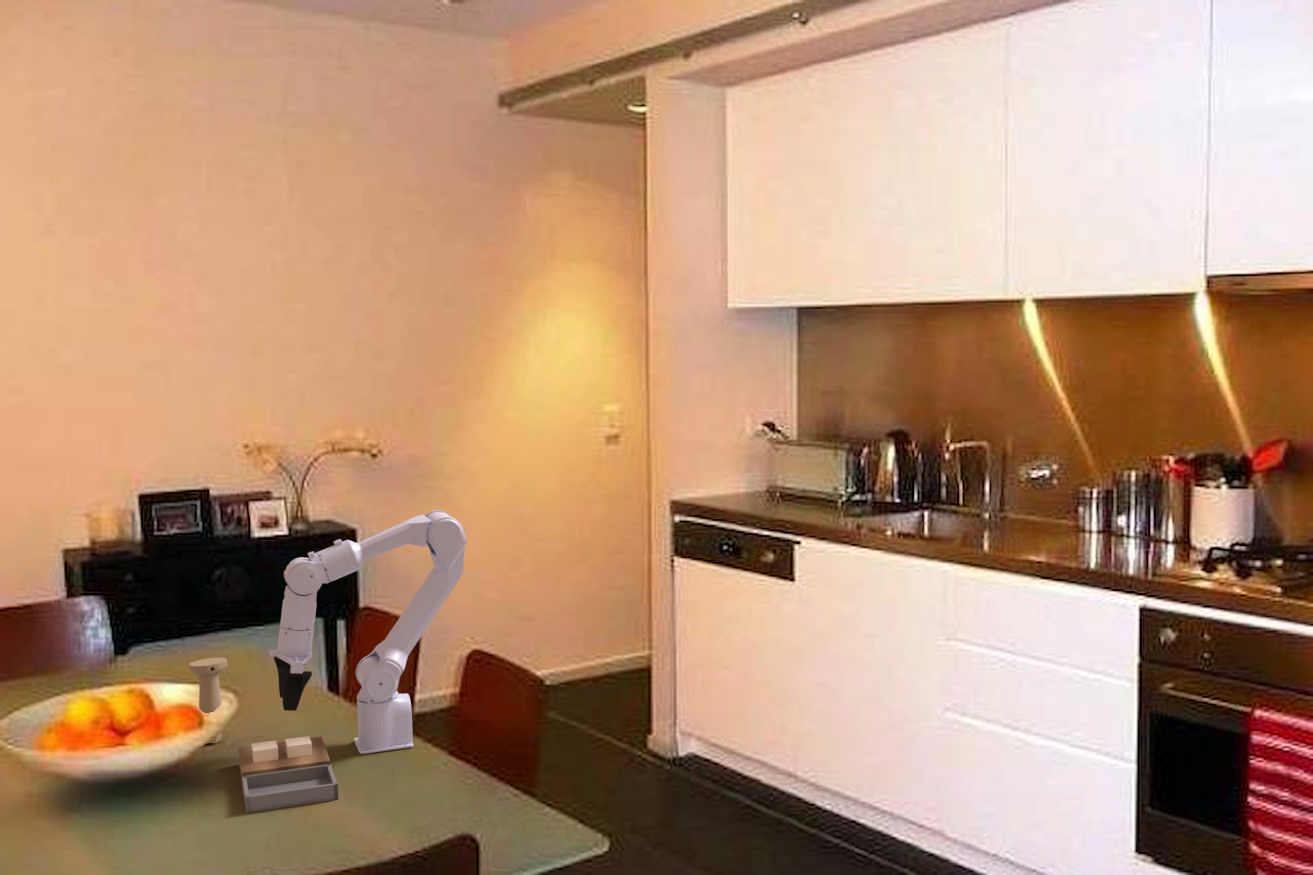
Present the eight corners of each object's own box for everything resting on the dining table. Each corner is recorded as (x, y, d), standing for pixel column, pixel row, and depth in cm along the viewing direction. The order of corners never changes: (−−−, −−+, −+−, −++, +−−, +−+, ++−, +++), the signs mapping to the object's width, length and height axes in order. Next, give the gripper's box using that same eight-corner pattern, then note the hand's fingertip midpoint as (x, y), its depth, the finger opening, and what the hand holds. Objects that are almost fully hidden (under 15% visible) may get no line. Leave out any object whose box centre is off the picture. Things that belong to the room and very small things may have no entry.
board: (322, 752, 217) (321, 736, 217) (330, 777, 205) (330, 760, 205) (238, 764, 212) (238, 747, 212) (242, 790, 200) (241, 772, 200)
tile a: (309, 747, 211) (309, 735, 211) (312, 754, 208) (311, 743, 208) (285, 750, 210) (285, 739, 210) (287, 758, 206) (287, 746, 206)
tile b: (276, 751, 209) (276, 740, 209) (278, 759, 206) (277, 747, 206) (252, 754, 208) (251, 743, 208) (253, 762, 204) (252, 751, 204)
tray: (331, 778, 205) (330, 763, 205) (338, 799, 196) (337, 784, 196) (242, 790, 200) (242, 776, 200) (246, 812, 191) (245, 797, 191)
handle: (234, 741, 224) (230, 661, 222) (198, 749, 220) (194, 667, 218) (225, 734, 228) (221, 655, 226) (190, 742, 224) (186, 662, 222)
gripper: (270, 616, 219) (261, 691, 220) (276, 635, 206) (267, 715, 206) (310, 618, 222) (301, 692, 222) (319, 637, 208) (310, 715, 209)
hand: (287, 703), depth 214 cm, fingers open, 7 cm apart
